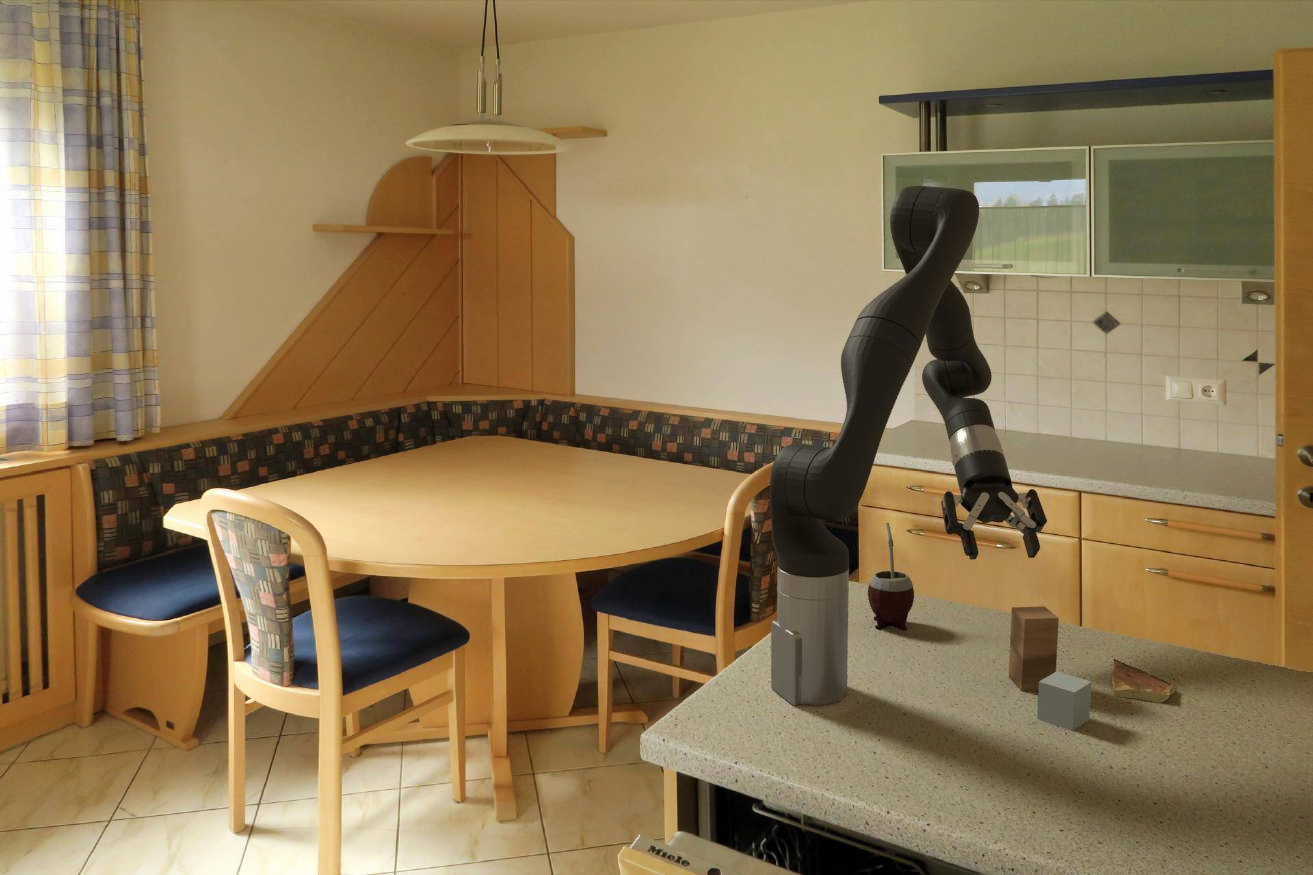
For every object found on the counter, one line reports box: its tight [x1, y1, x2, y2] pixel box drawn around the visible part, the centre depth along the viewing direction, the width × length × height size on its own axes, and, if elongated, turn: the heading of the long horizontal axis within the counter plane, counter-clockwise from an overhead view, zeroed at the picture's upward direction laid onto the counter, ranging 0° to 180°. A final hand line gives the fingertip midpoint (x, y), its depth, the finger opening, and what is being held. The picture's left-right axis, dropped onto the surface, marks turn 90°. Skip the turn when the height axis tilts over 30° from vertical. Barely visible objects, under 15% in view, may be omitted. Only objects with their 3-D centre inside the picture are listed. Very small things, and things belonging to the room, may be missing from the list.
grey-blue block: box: [1036, 670, 1092, 731], centre depth 127 cm, size 4×4×5 cm
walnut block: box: [1008, 605, 1059, 692], centre depth 137 cm, size 4×4×10 cm
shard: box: [1111, 658, 1177, 704], centre depth 137 cm, size 11×8×2 cm
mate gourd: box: [867, 522, 915, 632], centre depth 160 cm, size 8×8×15 cm
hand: (1004, 556), depth 146 cm, fingers open, 8 cm apart
